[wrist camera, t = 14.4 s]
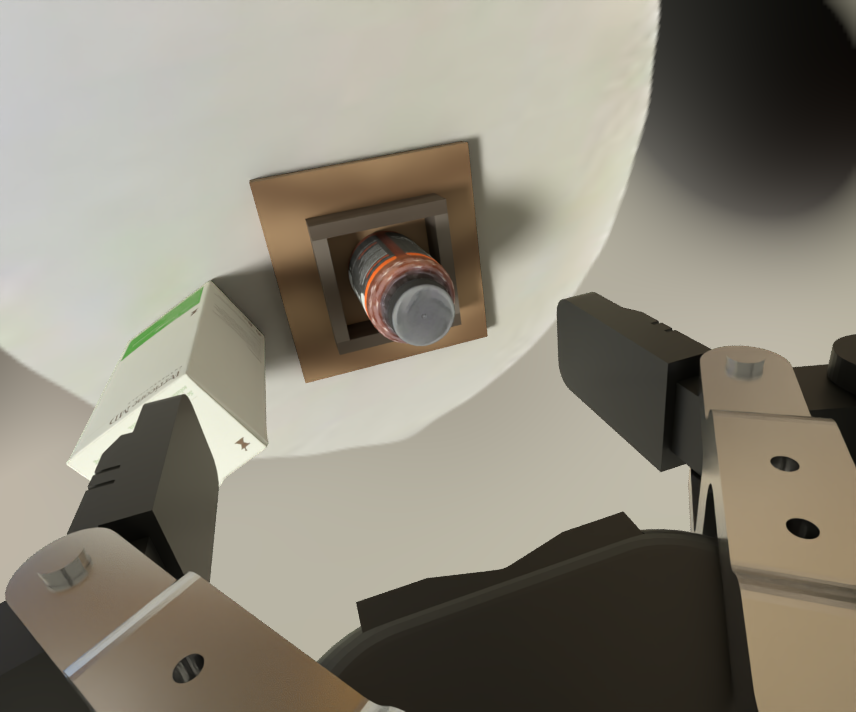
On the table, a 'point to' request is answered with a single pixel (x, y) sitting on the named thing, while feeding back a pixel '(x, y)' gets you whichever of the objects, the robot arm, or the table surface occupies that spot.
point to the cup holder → (346, 226)
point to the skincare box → (188, 381)
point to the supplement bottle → (402, 289)
